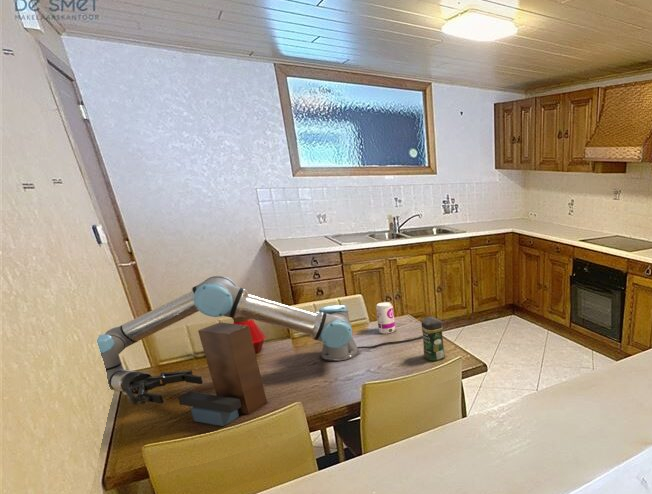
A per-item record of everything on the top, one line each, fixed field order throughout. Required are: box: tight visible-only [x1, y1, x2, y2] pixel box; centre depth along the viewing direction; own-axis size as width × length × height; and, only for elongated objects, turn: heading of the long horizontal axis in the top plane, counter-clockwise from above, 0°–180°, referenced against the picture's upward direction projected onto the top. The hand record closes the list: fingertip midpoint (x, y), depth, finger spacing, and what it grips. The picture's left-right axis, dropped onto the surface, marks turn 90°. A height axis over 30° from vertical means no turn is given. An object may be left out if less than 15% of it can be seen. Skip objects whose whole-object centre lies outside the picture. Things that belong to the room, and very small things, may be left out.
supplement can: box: [375, 301, 396, 335], centre depth 220 cm, size 8×8×15 cm
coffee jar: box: [421, 316, 445, 362], centre depth 191 cm, size 10×8×19 cm
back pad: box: [177, 390, 242, 413], centre depth 143 cm, size 21×4×3 cm, turn 77°
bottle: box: [231, 316, 266, 354], centre depth 194 cm, size 16×14×20 cm
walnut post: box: [197, 322, 268, 415], centre depth 147 cm, size 12×8×30 cm, turn 77°
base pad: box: [190, 406, 240, 427], centre depth 144 cm, size 12×6×5 cm, turn 77°
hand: (182, 389), depth 144 cm, fingers open, 13 cm apart
